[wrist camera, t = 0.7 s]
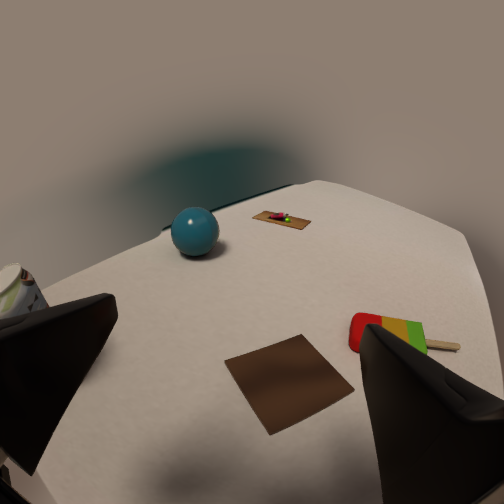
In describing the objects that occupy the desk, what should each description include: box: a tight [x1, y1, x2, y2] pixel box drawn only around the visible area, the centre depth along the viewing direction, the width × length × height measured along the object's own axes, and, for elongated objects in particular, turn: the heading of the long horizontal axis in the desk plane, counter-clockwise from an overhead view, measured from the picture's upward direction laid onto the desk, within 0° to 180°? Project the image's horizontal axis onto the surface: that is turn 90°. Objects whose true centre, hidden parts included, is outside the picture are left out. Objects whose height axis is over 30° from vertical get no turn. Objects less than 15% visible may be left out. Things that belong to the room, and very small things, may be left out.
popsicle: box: [349, 313, 461, 355], centre depth 26 cm, size 6×15×2 cm, turn 71°
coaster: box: [225, 334, 355, 435], centre depth 23 cm, size 9×9×1 cm
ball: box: [171, 207, 220, 256], centre depth 44 cm, size 8×8×8 cm
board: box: [252, 211, 311, 230], centre depth 62 cm, size 6×12×2 cm, turn 60°
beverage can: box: [0, 263, 49, 319], centre depth 17 cm, size 6×7×12 cm
